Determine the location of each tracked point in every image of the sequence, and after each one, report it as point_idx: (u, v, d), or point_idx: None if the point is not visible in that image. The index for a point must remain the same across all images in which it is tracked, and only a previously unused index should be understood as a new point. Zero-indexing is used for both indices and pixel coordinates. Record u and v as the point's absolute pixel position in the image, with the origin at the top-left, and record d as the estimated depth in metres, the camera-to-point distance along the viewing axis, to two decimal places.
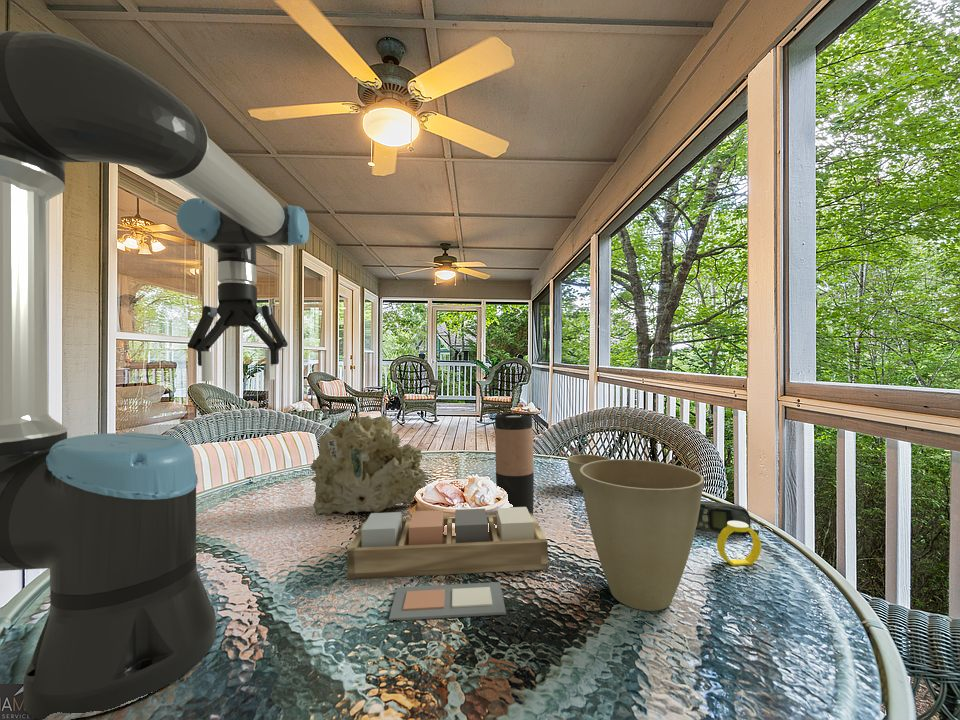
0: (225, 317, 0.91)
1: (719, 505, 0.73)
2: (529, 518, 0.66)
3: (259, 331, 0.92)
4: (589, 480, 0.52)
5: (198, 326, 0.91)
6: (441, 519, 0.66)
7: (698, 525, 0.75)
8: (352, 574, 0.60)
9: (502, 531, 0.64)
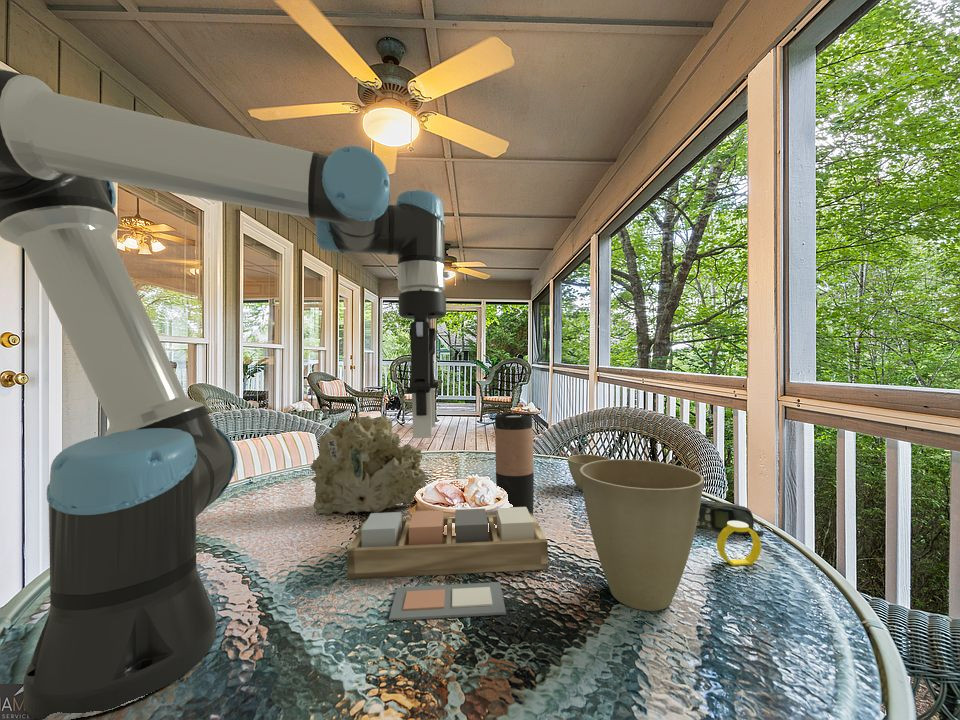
0: None
1: (721, 505, 0.73)
2: (529, 518, 0.66)
3: None
4: (589, 480, 0.52)
5: None
6: (441, 519, 0.66)
7: (701, 524, 0.75)
8: (352, 574, 0.60)
9: (502, 531, 0.64)
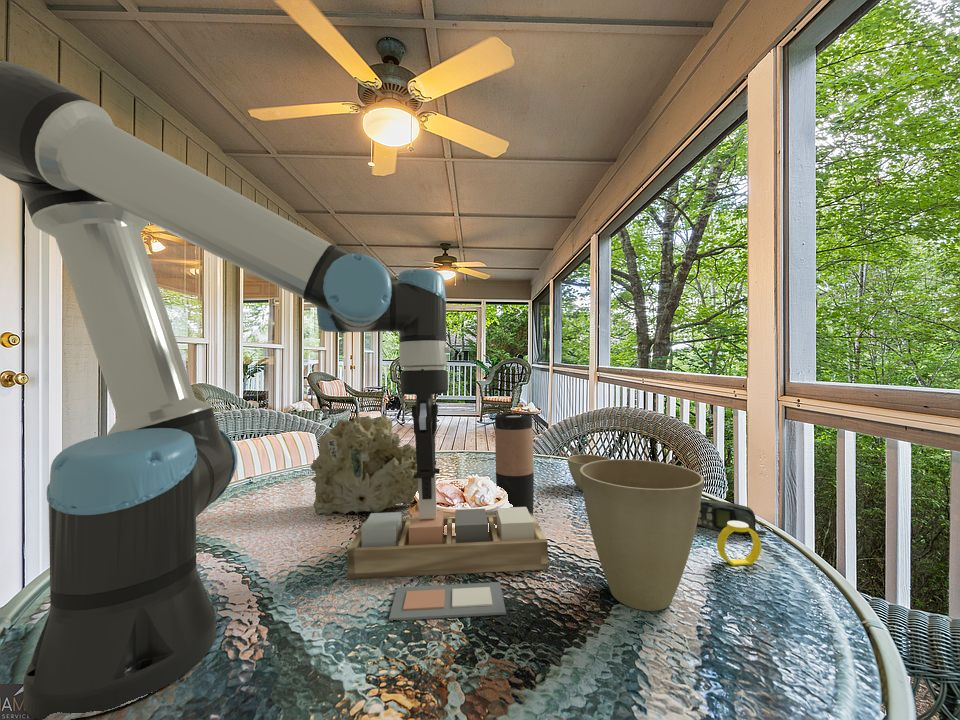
0: None
1: (723, 504, 0.73)
2: (529, 518, 0.66)
3: None
4: (589, 480, 0.52)
5: None
6: (441, 519, 0.66)
7: (702, 523, 0.75)
8: (352, 574, 0.60)
9: (502, 531, 0.64)
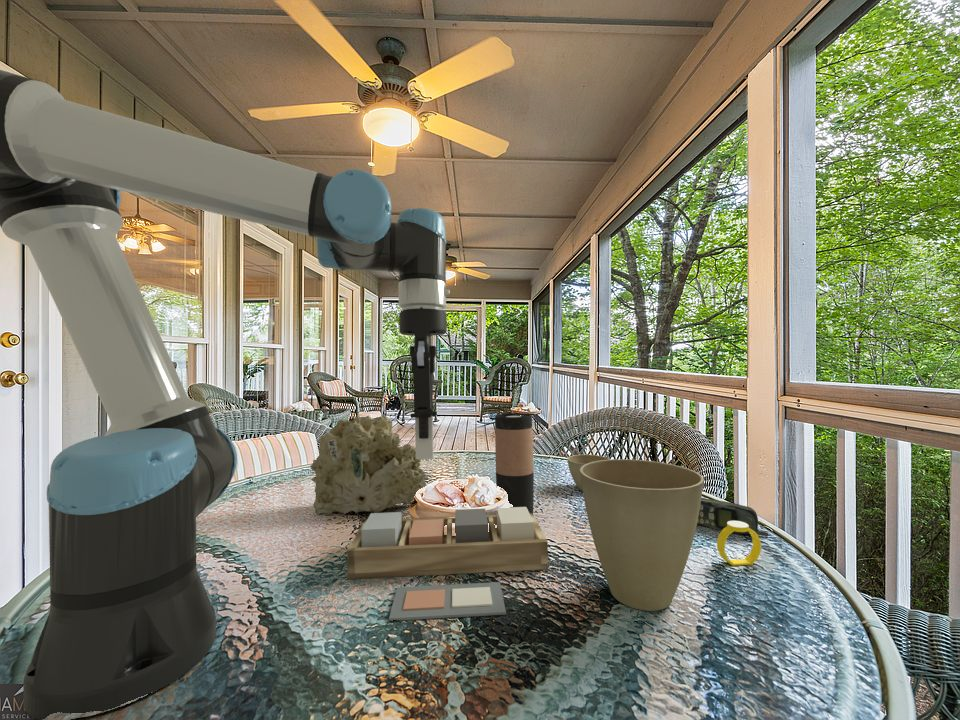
0: None
1: (725, 504, 0.73)
2: (529, 518, 0.66)
3: None
4: (589, 480, 0.52)
5: None
6: (441, 528, 0.66)
7: (704, 522, 0.76)
8: (352, 574, 0.60)
9: (502, 531, 0.64)
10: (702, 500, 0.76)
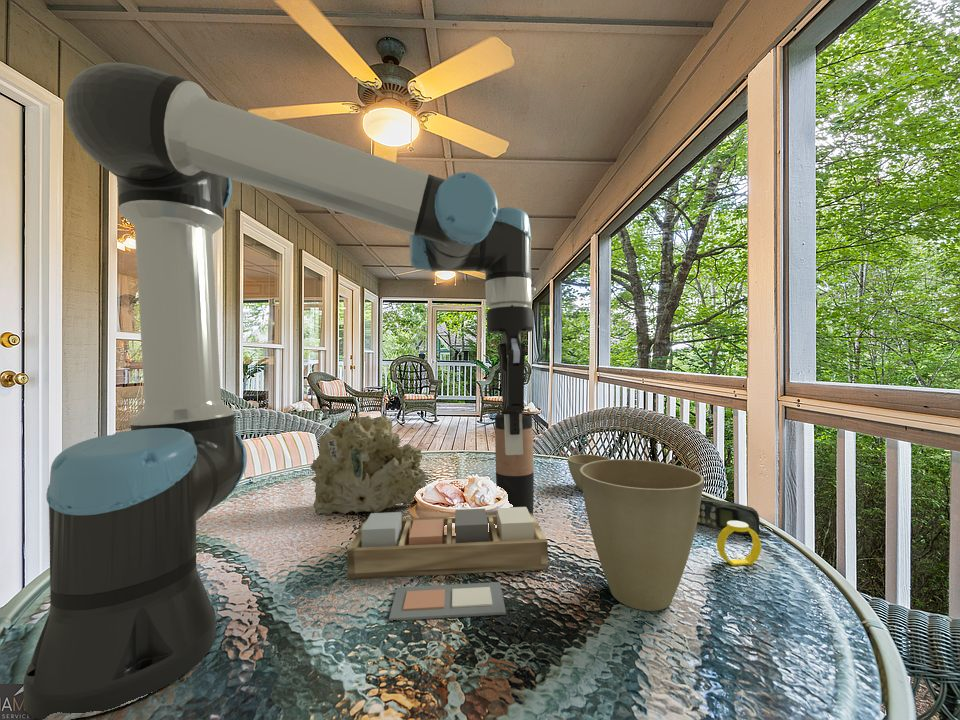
0: (499, 355, 0.68)
1: (726, 504, 0.73)
2: (529, 518, 0.66)
3: (505, 383, 0.66)
4: (589, 480, 0.52)
5: (501, 378, 0.72)
6: (441, 528, 0.66)
7: (706, 522, 0.76)
8: (352, 574, 0.60)
9: (502, 531, 0.64)
10: (704, 500, 0.76)
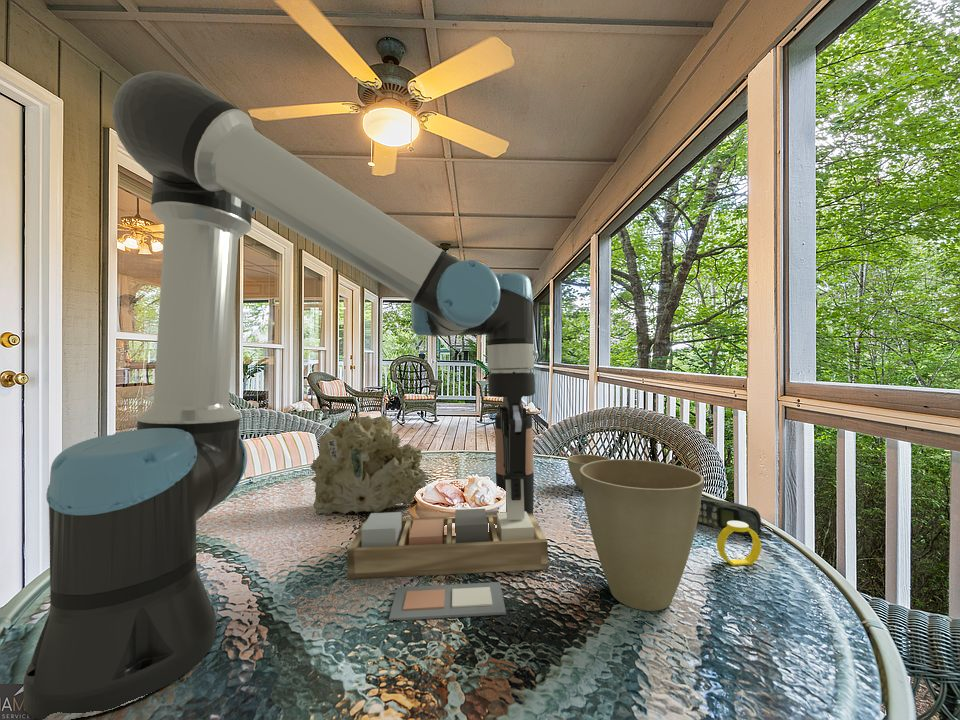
0: None
1: (727, 504, 0.73)
2: (530, 522, 0.66)
3: (507, 448, 0.66)
4: (589, 480, 0.52)
5: None
6: (441, 528, 0.66)
7: (708, 522, 0.76)
8: (352, 574, 0.60)
9: (502, 536, 0.64)
10: (705, 500, 0.77)
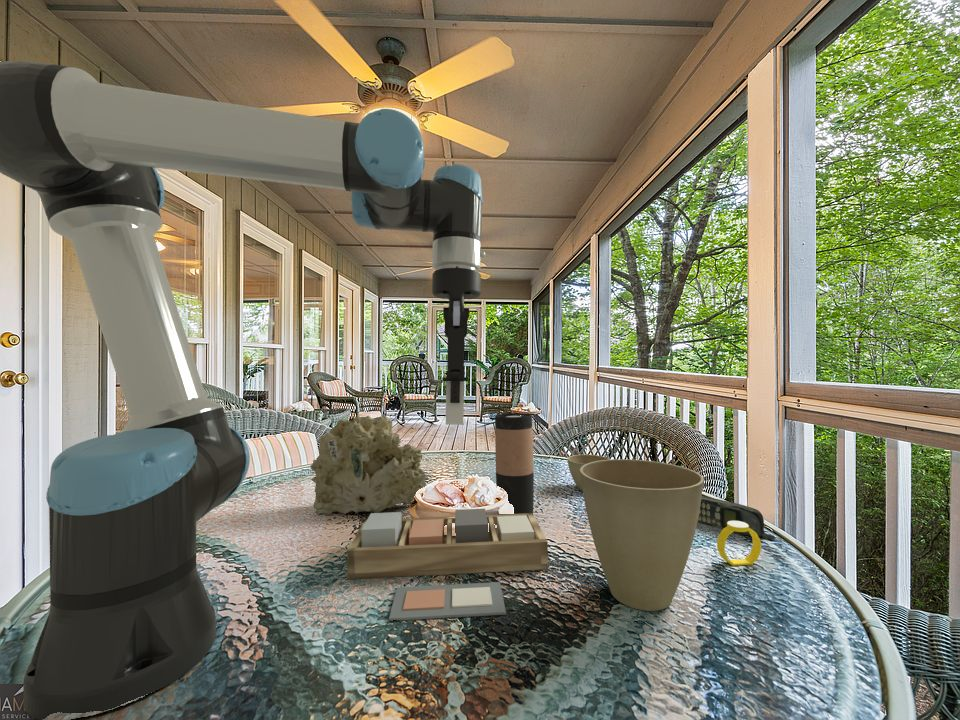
0: (444, 320, 0.65)
1: (730, 505, 0.73)
2: (530, 527, 0.66)
3: None
4: (589, 480, 0.52)
5: None
6: (441, 528, 0.66)
7: (711, 522, 0.76)
8: (352, 574, 0.60)
9: None
10: (709, 500, 0.77)
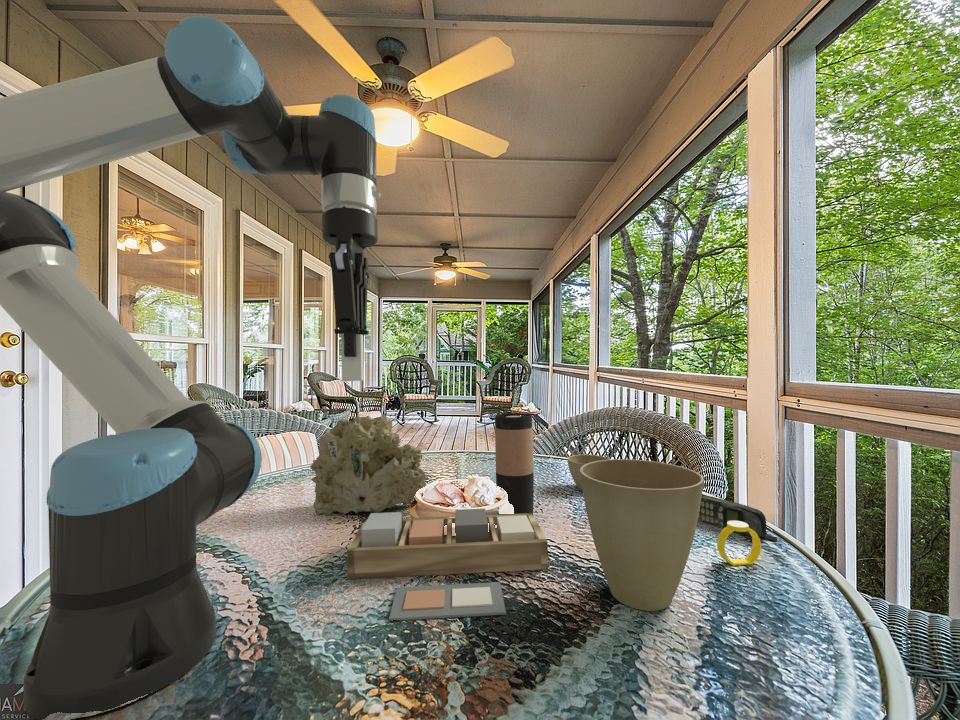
0: None
1: (732, 505, 0.73)
2: (530, 527, 0.66)
3: None
4: (589, 480, 0.52)
5: None
6: (441, 528, 0.66)
7: (714, 521, 0.76)
8: (352, 574, 0.60)
9: None
10: (713, 499, 0.77)
